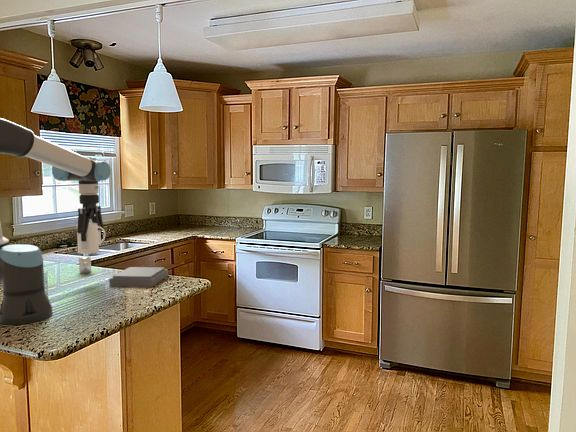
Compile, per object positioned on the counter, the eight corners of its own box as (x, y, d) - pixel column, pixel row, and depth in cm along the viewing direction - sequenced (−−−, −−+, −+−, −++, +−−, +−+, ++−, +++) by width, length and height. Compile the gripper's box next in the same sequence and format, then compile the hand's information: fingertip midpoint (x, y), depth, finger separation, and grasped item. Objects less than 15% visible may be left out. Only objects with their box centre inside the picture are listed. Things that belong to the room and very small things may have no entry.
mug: (103, 248, 197) (102, 221, 196) (110, 251, 191) (108, 223, 190) (75, 251, 190) (73, 223, 189) (80, 254, 183) (79, 225, 182)
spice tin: (87, 273, 204) (86, 258, 203) (77, 273, 204) (76, 258, 204) (93, 271, 209) (92, 256, 208) (83, 271, 209) (82, 256, 208)
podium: (152, 286, 181) (151, 277, 180) (109, 286, 183) (109, 276, 182) (168, 275, 199) (167, 266, 198) (129, 275, 200) (128, 266, 200)
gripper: (83, 195, 176) (86, 251, 178) (110, 192, 198) (112, 242, 200) (65, 195, 177) (68, 251, 179) (94, 192, 199) (96, 242, 201)
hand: (91, 246), depth 190 cm, fingers closed on mug, 9 cm apart
